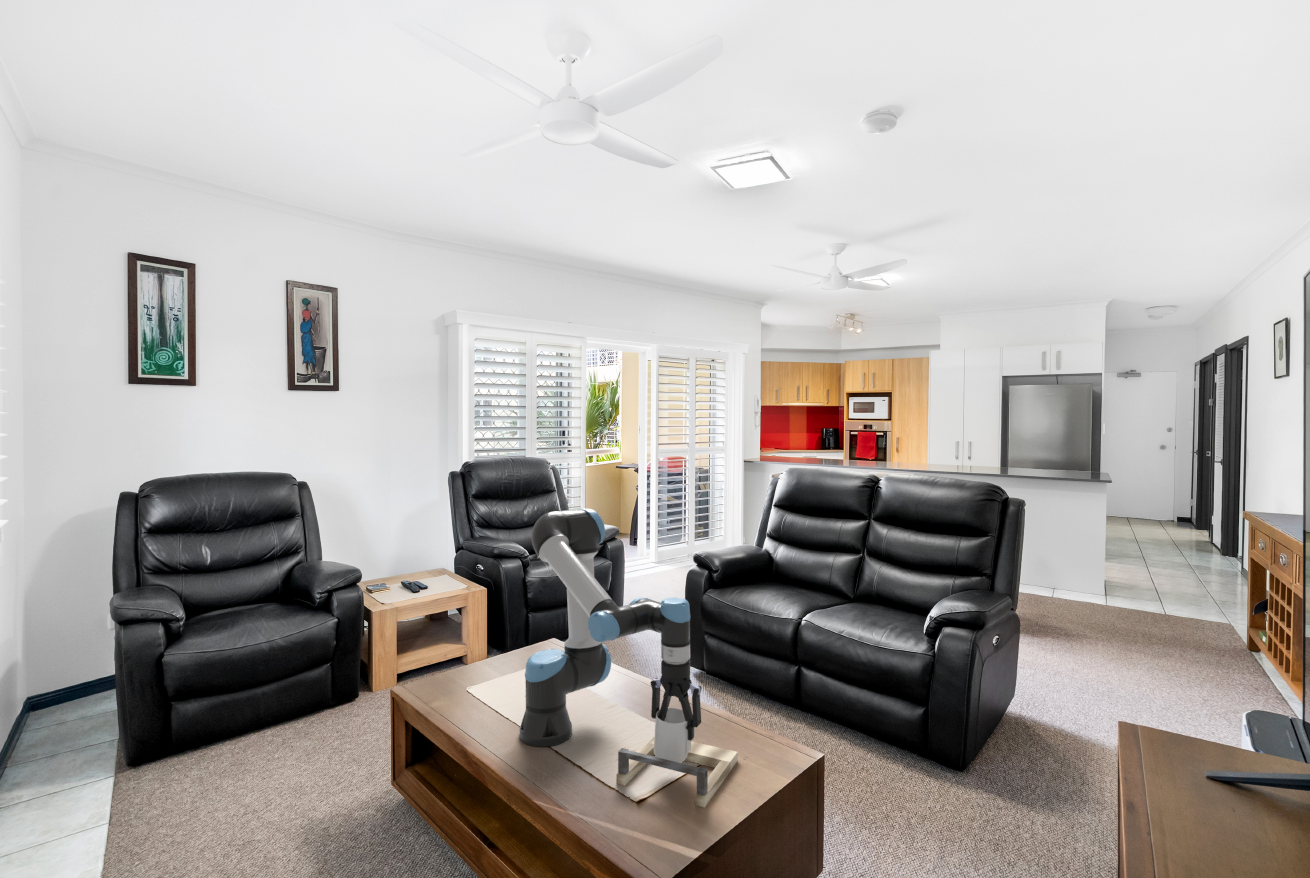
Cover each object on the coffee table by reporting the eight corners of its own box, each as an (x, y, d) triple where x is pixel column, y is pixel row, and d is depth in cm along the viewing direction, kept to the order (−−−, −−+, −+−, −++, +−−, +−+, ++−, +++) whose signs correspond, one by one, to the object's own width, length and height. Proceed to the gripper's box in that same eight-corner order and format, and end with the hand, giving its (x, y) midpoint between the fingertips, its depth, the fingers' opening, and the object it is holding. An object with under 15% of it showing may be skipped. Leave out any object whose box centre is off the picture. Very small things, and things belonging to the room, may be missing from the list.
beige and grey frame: (616, 783, 163) (616, 752, 163) (657, 742, 185) (657, 714, 185) (704, 807, 153) (704, 774, 153) (737, 761, 174) (737, 731, 174)
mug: (667, 770, 161) (670, 727, 160) (646, 754, 168) (649, 712, 167) (703, 757, 168) (706, 715, 168) (681, 742, 175) (684, 702, 175)
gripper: (636, 658, 167) (637, 747, 168) (704, 670, 159) (704, 763, 159) (649, 650, 174) (650, 735, 174) (714, 660, 166) (715, 750, 166)
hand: (676, 748), depth 167 cm, fingers closed on mug, 6 cm apart
